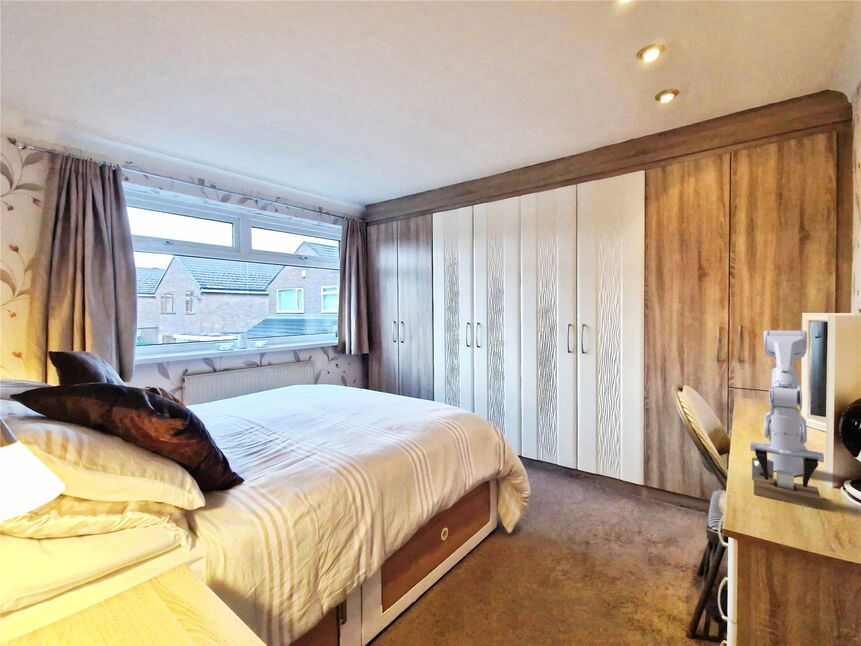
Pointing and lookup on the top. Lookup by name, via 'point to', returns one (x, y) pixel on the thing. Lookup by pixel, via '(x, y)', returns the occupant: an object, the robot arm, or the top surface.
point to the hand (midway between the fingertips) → (785, 482)
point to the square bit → (785, 480)
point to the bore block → (787, 492)
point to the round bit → (759, 471)
